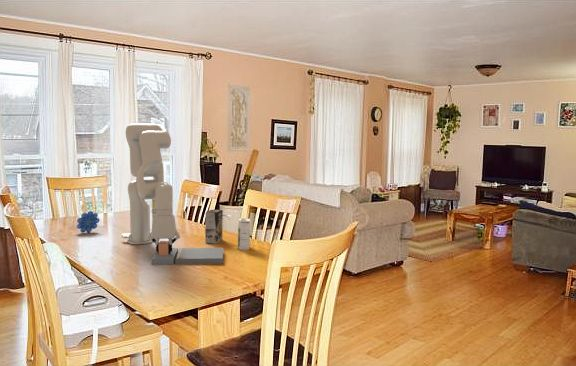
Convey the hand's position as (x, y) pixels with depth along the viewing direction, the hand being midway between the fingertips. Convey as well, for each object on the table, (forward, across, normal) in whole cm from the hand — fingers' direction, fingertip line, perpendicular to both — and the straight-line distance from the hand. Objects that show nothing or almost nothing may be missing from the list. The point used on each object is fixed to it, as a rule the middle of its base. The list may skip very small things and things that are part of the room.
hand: (164, 252), depth 206 cm
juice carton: (+3, -12, +72) cm, 73 cm away
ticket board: (+3, +16, 0) cm, 16 cm away
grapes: (+3, -48, +55) cm, 73 cm away
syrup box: (+3, +36, +17) cm, 40 cm away
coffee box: (+3, +21, +32) cm, 38 cm away
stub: (+3, 0, 0) cm, 3 cm away
